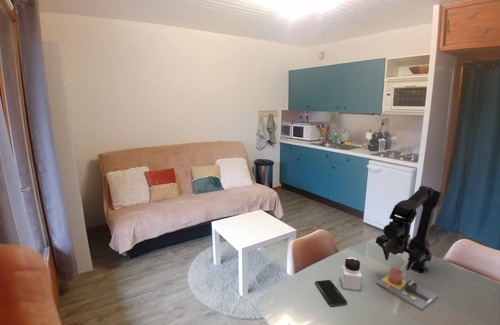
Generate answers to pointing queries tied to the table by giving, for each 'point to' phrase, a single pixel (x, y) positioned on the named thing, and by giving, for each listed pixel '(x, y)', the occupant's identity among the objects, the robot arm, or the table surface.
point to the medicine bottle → (351, 274)
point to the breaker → (410, 286)
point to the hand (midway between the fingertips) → (396, 265)
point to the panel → (416, 299)
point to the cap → (395, 276)
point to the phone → (330, 293)
